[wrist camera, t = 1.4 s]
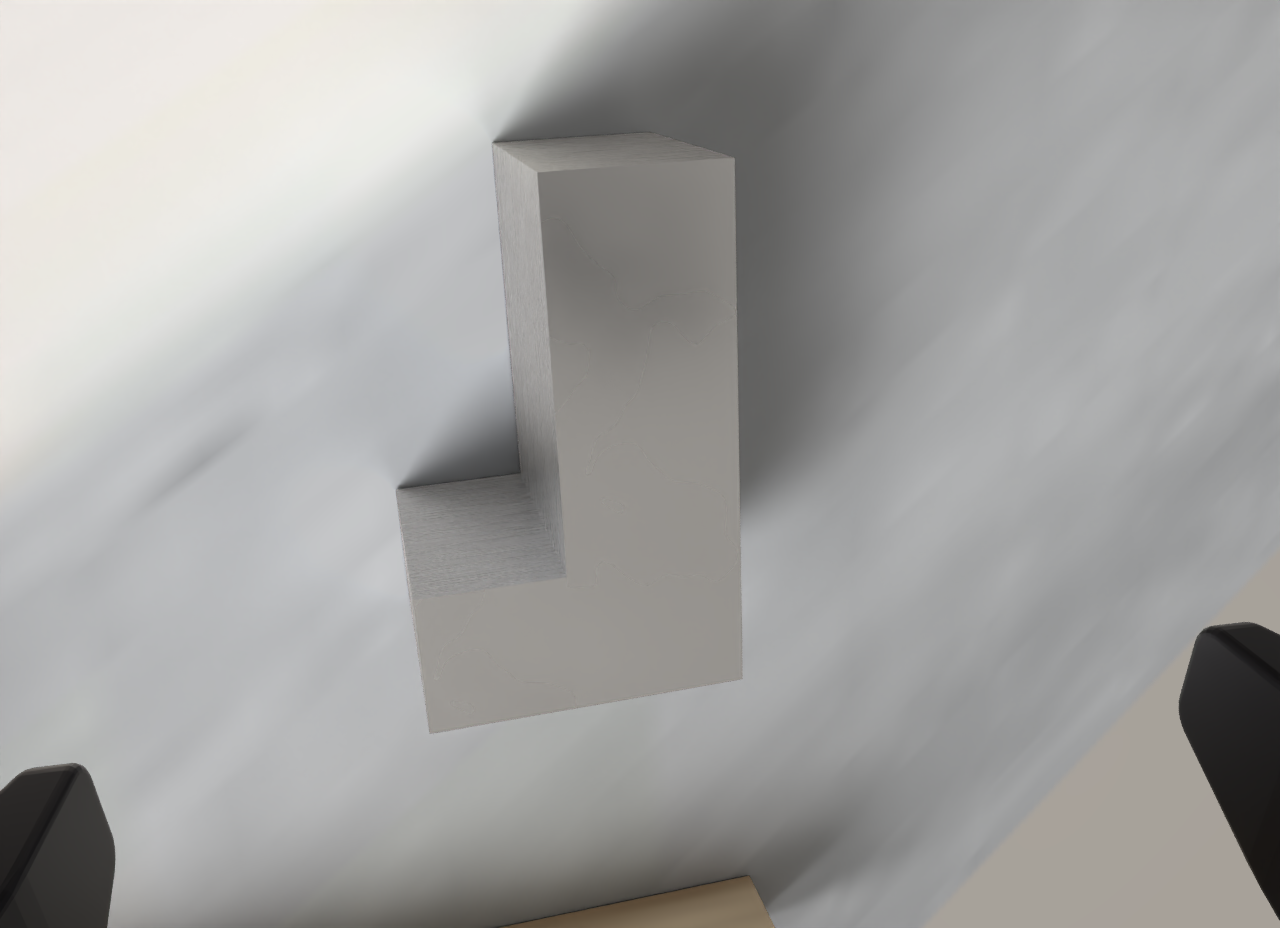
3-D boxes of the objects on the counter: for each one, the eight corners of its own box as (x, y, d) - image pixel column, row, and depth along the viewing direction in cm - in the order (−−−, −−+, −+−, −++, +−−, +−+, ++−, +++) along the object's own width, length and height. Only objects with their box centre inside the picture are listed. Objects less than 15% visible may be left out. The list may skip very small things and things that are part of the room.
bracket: (667, 563, 25) (742, 679, 21) (409, 601, 24) (429, 733, 20) (650, 131, 22) (734, 157, 18) (352, 152, 21) (360, 185, 16)
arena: (749, 924, 29) (809, 1051, 26) (-297, 1151, 24) (-407, 1347, 21) (738, 98, 22) (818, 111, 19) (-731, 191, 17) (-1012, 233, 14)
